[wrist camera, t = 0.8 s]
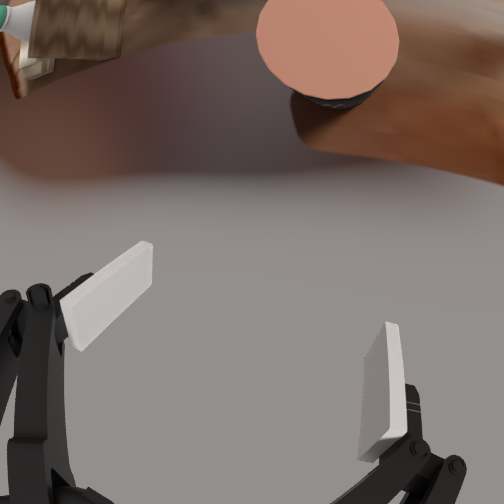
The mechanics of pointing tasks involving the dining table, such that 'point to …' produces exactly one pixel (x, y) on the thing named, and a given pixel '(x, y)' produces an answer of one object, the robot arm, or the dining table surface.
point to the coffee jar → (328, 47)
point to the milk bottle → (17, 20)
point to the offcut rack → (71, 33)
